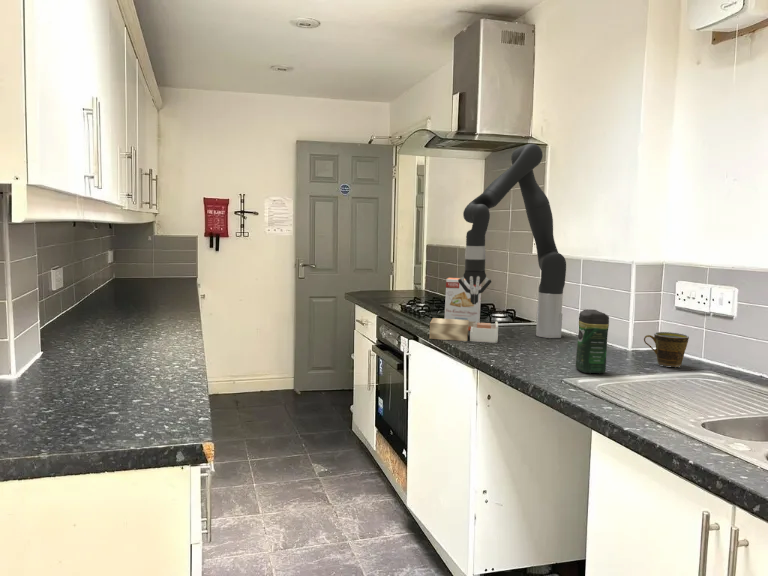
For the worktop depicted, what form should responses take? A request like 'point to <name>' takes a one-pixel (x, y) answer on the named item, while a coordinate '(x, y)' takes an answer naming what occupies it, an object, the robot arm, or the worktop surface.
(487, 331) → the bin
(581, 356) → the coffee jar
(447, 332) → the platform
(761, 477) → the worktop surface
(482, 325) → the tile
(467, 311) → the cracker box
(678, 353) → the ceramic cup
